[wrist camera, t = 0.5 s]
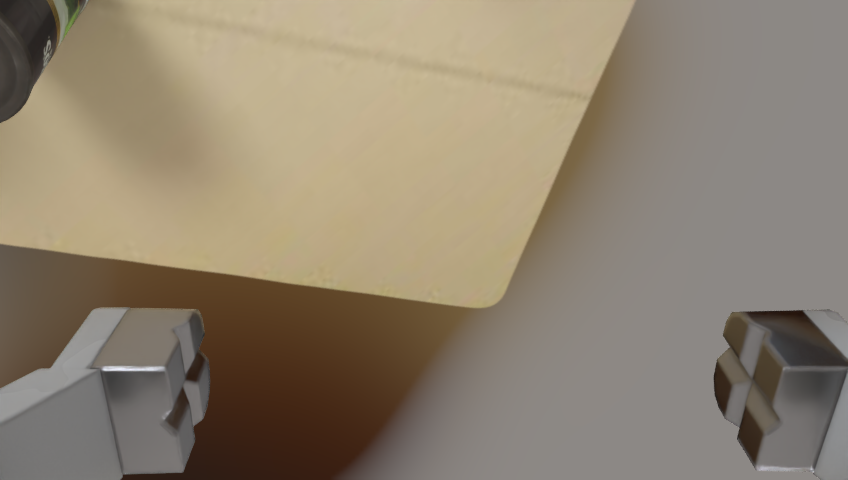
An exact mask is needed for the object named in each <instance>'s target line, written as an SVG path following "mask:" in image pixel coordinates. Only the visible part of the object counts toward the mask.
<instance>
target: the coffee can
mask: <svg viewBox="0 0 848 480" xmlns="http://www.w3.org/2000/svg"><path fill="white" fill-rule="evenodd" d="M87 3H88V0H0V123H1V122H3V121H6V120H8V119H9V118H11V117H12V116H14V115H15V114H16V113H17V112H19V111H20V110H21V108H22V107H23V106H24V105H25V103H26V101H27V100H28V98H29V96H30V93H31V91H32V88H33V86H34V84H35V83H36V81H37V80H38V78H39V77H40V75H41V74H42V72H43V71H44V69H45V67H46V66H47V64H48V62H49V61H50V59H51V58H52V56H53V55H54V53H55V51H56V50H57V48H58V47H59V45H60V43H61V42H62V40H63V39H64V37H65V35H66V34H67V32H68V31H69V29H70V28H71V26H72V25H73V23H74V22H75V20H76V18H77V17H78V15H79V14H80V13H81V12H82V11H83V10H84V8H85V6H86V5H87Z"/></svg>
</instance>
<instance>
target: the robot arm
mask: <svg viewBox="0 0 848 480" xmlns="http://www.w3.org/2000/svg"><path fill="white" fill-rule="evenodd" d="M204 335H205V333H204V327H203V321H202V316H201V314H200V312H199V311H198V310H197V309H156V308H154V309H153V308H132V309H131V308H129V307H127V308H98V309H94V310H93V311H92V312H91V313H90V314H89V316H88V317H87V318H86V320H85V321H84V323H83V324H82V325H81V327H80V328H79V330H78V331H77V332H76V334H75V335H74V336H73V338H72V339H71V341H70V342H69V343H68V345H67V346H66V347H65V349H64V350H63V352H62V353H61V354H60V356H59V357H58V358H57V360H56V361H55V363H54V364H53V365H52V367H51V368H50V369H38V370H36V371H34V372H32V373H30V374H28V375H26V376H24V377H22V378H20V379H18V380H16V381H14V382H12V383H10V384H8V385H6V386H4V387H2V388H1V389H0V480H120V479H121V478H122V474H145V473H178V472H183V471H184V468H185V465H186V462H187V460H188V457H189V454H190V452H191V449H192V447H193V444H194V441H195V437H194V429H193V426H194V425H196V424H197V423H198V422H200V421H201V420H203V417H204V414H205V411H206V408H207V404H208V397H209V390H210V370H209V362H208V358H207V357H206V356H205V355H204V354H203V353H202V352H201V351H200V350H199V347H200V344H201V342H202V340H203V337H204ZM723 336H724V338H725V340H726V341H727V343H728V345H729V346H730V348H728V350H726V351H725V352H724V353H723V354H722V355H721V356H720V357H719V358H718V359H717V363H716V368H715V373H714V391H715V397H716V400H717V403H718V407H719V409H720V411H721V412H722V414H723V416H724V418H725V419H726V420H728V421H730V422H731V423H733V424H734V425H736V426H738V427H739V428H740V429H739V433H738V437H737V440H738V441H739V443H740V445H741V446H742V448H743V450H744V451H745V453H746V454H747V456H748V458H749V460H750V461H751V463H752V464H753V466H754V468H755V469H756V470H767V471H768V470H769V471H809V472H810V471H811V472H814V473H813V474H814V475H815V476H816V477H818V478H819V479H820V480H848V323H847V322H846V321H845V320H844V319H843V318H842V317H841V316H840V315H839V314H838V313H837V312H834V311H832V310H829V309H827V310H797V311H758V312H757V311H755V312H732V313H731V315H730V316H729V318H728V319H727V321H726V325H725V329H724V333H723Z"/></svg>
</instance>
